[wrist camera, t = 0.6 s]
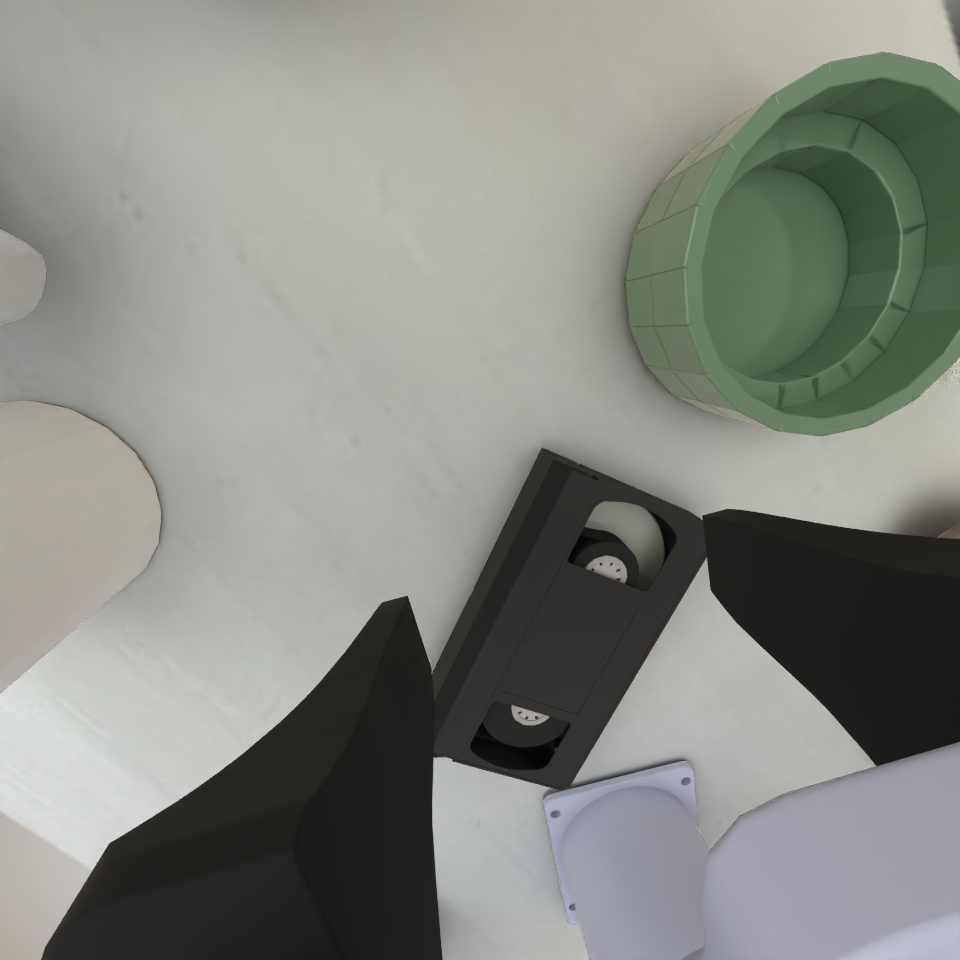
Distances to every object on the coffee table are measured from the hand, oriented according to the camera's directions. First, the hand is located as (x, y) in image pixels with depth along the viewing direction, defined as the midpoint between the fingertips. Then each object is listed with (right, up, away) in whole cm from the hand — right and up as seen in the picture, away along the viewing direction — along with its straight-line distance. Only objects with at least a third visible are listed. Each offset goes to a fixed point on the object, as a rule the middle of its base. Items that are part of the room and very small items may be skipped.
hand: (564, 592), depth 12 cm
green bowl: (+9, +11, +8) cm, 16 cm away
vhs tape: (+1, -4, +11) cm, 12 cm away
